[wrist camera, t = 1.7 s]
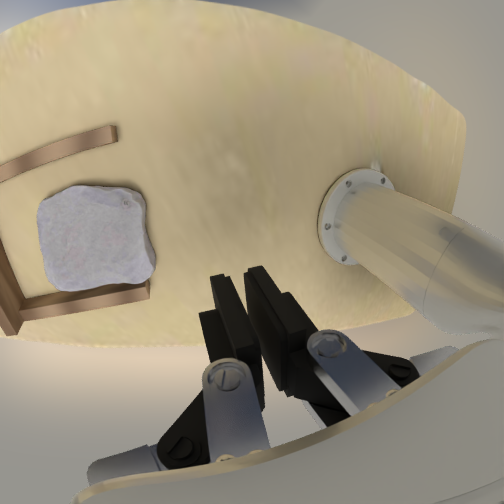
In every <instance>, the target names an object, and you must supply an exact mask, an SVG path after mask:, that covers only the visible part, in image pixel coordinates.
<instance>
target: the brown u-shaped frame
mask: <svg viewBox="0 0 504 504" xmlns="http://www.w3.org/2000/svg"><path fill="white" fill-rule="evenodd" d="M117 141H118V139H117V132H116V126H111V125H110V126H106V127H102V128H99V129H95V130H92V131H89V132H85V133H82V134H79V135H76V136H73V137H70V138H67V139H64V140H61V141H58V142H55V143H53V144H50V145H47V146H45V147H42V148H40V149H37V150H35V151H32V152H30V153H28V154H25V155H23V156H21V157H19V158H16V159H14V160H12V161H10V162H8V163H6V164H4V165H2V166H0V183H1V182H3V181H5V180H7V179H9V178H11V177H14V176H16V175H18V174H21V173H23V172H25V171H28V170H30V169H33V168H35V167H38V166H40V165H43V164H46V163H48V162H51V161H54V160H57V159H60V158H63V157H66V156H69V155H72V154H75V153H78V152H81V151H84V150H88V149H91V148H95V147H98V146H102V145H106V144H109V143H113V142H117ZM148 299H150V284H149V281H148V279H147V280H146V281H144V282H143V283H138V284H130V283H119V284H115V283H112V284H106V285H102V286H99V287H95V288H91V289H86V290H79V291H72V292H69V291H63V292H58V293H53V294H48V295H43V296H38V297H33V298H29V299H25V298H24V296H23V293H22V291H21V289H20V287H19V285H18V283H17V280H16V278H15V276H14V273H13V271H12V269H11V266H10V264H9V261H8V259H7V256H6V253H5V250H4V248H3V245H2V242H1V239H0V326H1V328H2V329H3V331H4V333H5V334H6V336H12V335H17V334H18V332H19V330H20V328H21V326H22V324H23V322H24V321H29V320H36V319H42V318H48V317H54V316H60V315H66V314H72V313H78V312H83V311H89V310H95V309H100V308H106V307H111V306H116V305H122V304H127V303H132V302H137V301H143V300H148Z"/></svg>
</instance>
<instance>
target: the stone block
mask: <svg viewBox="0 0 504 504" xmlns="http://www.w3.org/2000/svg"><path fill="white" fill-rule="evenodd" d="M145 218H146V204H145V201H144V200H143V198H142V196H141V194H140V193H138V192H137V191H133V190H131V189H129V188H123V187H101V186H86V185H83V186H71V187H69V188H67V189H65V190H63V191H62V192H59V193H56V194H55V195H54V196H52V197H49V198H45V199H44V200H43V201H42V202H41V203H40V205H39V208H38V212H37V225H38V233H39V242H40V247H41V252H42V255H43V260H44V268H45V273H46V276H47V278H48V280H49V282H50V283H51V284H53V285H54V286H55V288H56V289H59V290H60V291H69V292H72V291H79V290H86V289H91V288H95V287H99V286H102V285H106V284H112V283H115V284H119V283H130V284H138V283H143V282H144V281H146V280H147V279H148V278H150V276H151V275H152V273H153V272H154V270H155V268H156V262H155V258H156V256H155V253H154V250H153V248H152V245H151V243H150V241H149V237H148V234H147V233H146V228H145Z"/></svg>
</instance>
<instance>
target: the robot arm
mask: <svg viewBox="0 0 504 504" xmlns="http://www.w3.org/2000/svg"><path fill="white" fill-rule="evenodd" d="M318 233H319V239H320V242H321V245H322V247H323V248H324V250H325V252H326V253H327V254H328V255H329V256H330V257H331V258H333V259H334V260H335V261H337V262H339V263H341V264H345V265H357V264H361V265H362V266H363V267H364V268H366V269H367V270H368V271H370V272H371V273H372V274H373V275H375V276H376V277H377V278H378V279H380V280H381V281H382V282H383V283H384V284H386V285H387V286H388V287H389V288H391V289H392V290H393V291H394V292H395V293H397V294H398V295H399V296H400V297H402V298H403V299H404V300H405V301H406V302H407V303H409V304H410V305H411V306H412V307H413V308H415V309H416V310H417V311H418V312H419V313H420V314H422V315H423V316H424V317H425V318H426V319H428V320H429V321H430V322H431V323H432V324H433V325H434V326H436V327H437V328H439V329H440V330H442V331H444V332H447V333H449V334H455V335H462V334H470V333H479V332H484V333H488V334H490V339H487V340H483V341H479V342H476V343H473V344H470V345H468V346H466V347H464V348H462V349H460V350H459V349H457V348H456V347H452V346H447V347H443V348H440V349H436V350H433V351H430V352H427V353H423V354H420V355H417V356H413V357H410V359H409V360H407V359H404V358H401V357H395V356H390V355H384V354H379V353H374V352H369V351H364V350H361V349H360V348H358V346H357V345H356V344H355V343H354V342H352V341H351V340H350V339H349V338H348V337H347V336H346V335H344V334H343V333H342V332H339V331H336V330H330V329H328V330H321V331H318V329H317V328H316V326H315V325H314V324H313V322H312V321H311V320H310V318H309V317H308V316H307V314H306V313H305V312H304V310H303V309H302V308H301V306H300V305H299V304H298V302H297V301H296V300H295V298H294V297H293V296H292V294H291V293H290V292H285V293H281V291H280V290H279V289H278V287H277V286H276V284H275V283H274V281H273V280H272V279H271V277H270V276H269V274H268V273H267V272H266V270H265V269H264V267H263V266H257V267H252V268H248V272H246V273H244V284H245V293H246V302H247V312H248V315H247V313H246V310H245V308H244V306H243V304H242V302H241V300H240V297H239V295H238V293H237V291H236V289H235V287H234V284H233V282H232V280H231V278H230V276H227V277H225V276H224V274H219V275H215V276H210V281H211V287H212V292H213V298H214V303H215V308H216V309H214V310H209V311H205V312H200V313H199V318H200V322H201V326H202V330H203V335H204V339H205V343H206V347H207V351H208V355H209V359H210V362H211V364H210V365H209V366H208V367H207V368H206V369H205V371H204V373H203V376H202V385H203V389H202V391H201V392H200V393H199V395H197V397H196V398H195V399H194V400H193V402H192V403H191V404H190V405H189V406H188V407H187V409H186V410H185V411H184V412H183V413H182V414H181V416H180V417H179V418H178V419H177V420H176V421H175V423H174V424H173V425H172V426H171V427H170V428H169V429H168V430H167V432H166V433H165V434H164V435H163V436H162V437H161V439H160V440H159V442H158V443H157V444H155V445H152V446H148V445H144V446H141V447H138V448H135V449H132V450H129V451H126V452H123V453H119V454H116V455H113V456H109V457H106V458H102V459H98V460H96V461H94V462H93V463H92V464H91V465H90V466H89V468H88V471H87V478H88V482H89V485H90V486H89V487H87V488H85V489H83V490H82V491H80V492H79V493H77V494H76V495H75V496H74V497H73V498H72V500H71V502H70V504H504V241H503V240H501V239H499V238H497V237H495V236H493V235H491V234H489V233H487V232H486V231H484V230H482V229H480V228H478V227H476V226H474V225H472V224H470V223H468V222H466V221H463V220H462V219H459V218H457V217H455V216H453V215H451V214H449V213H447V212H445V211H442V210H440V209H438V208H436V207H433V206H431V205H429V204H427V203H424V202H422V201H419V200H417V199H415V198H412V197H410V196H407V195H405V194H402V193H400V192H397V191H395V188H394V186H393V184H392V183H391V181H390V180H389V179H388V178H387V176H385V175H384V174H382V173H381V172H378V171H376V170H372V169H368V168H360V169H356V170H352V171H350V172H348V173H346V174H345V175H343V176H342V177H341V178H339V179H338V180H337V181H336V182H335V183H334V185H333V186H332V187H331V188H330V189H329V191H328V193H327V195H326V196H325V198H324V201H323V203H322V206H321V209H320V213H319V217H318ZM261 354H262V355H261ZM262 356H263V359H264V361H265V363H266V365H267V367H268V369H269V371H270V374H271V376H272V378H273V380H274V382H275V384H276V386H277V388H278V390H279V391H283V390H284V392H285V394H286V395H287V397H290V396H294V397H295V398H298V399H301V400H302V403H303V405H304V406H305V408H306V409H307V411H308V412H309V413H310V415H311V416H312V417H313V418H314V420H315V421H316V423H317V424H318V425H319V427H320V428H321V429H322V430H320V431H318V432H315V433H313V434H310V435H307V436H305V437H302V438H300V439H297V440H294V441H291V442H288V443H285V444H282V445H280V446H277V447H274V448H271V447H270V443H269V440H268V436H267V432H266V428H265V425H264V421H263V417H262V411H263V409H264V408H265V401H264V396H265V394H264V381H263V368H262Z"/></svg>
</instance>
